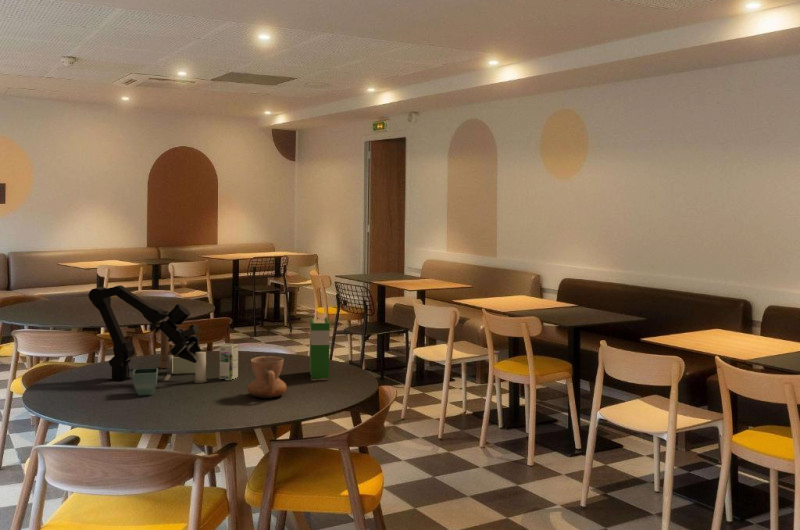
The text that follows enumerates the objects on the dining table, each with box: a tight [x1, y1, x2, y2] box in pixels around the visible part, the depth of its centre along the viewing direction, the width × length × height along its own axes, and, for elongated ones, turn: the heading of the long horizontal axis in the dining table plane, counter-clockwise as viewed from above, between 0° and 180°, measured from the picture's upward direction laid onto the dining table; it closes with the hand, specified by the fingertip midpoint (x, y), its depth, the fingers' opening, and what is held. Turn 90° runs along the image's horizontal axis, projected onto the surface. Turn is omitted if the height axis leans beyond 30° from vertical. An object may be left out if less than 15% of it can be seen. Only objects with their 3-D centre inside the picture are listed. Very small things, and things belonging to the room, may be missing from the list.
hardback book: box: [309, 316, 330, 380], centre depth 317 cm, size 18×7×24 cm, turn 9°
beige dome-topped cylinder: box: [193, 351, 208, 384], centre depth 304 cm, size 5×5×12 cm
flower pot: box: [131, 367, 159, 396], centre depth 283 cm, size 9×9×9 cm
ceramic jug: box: [247, 355, 287, 399], centre depth 282 cm, size 18×14×14 cm
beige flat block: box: [172, 356, 195, 375], centre depth 319 cm, size 11×2×7 cm, turn 101°
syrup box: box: [219, 343, 239, 381], centre depth 310 cm, size 6×6×14 cm
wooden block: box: [159, 330, 178, 370], centre depth 330 cm, size 4×11×18 cm, turn 111°
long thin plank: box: [163, 354, 174, 382], centre depth 314 cm, size 18×2×8 cm, turn 11°
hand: (199, 359), depth 304 cm, fingers open, 9 cm apart
